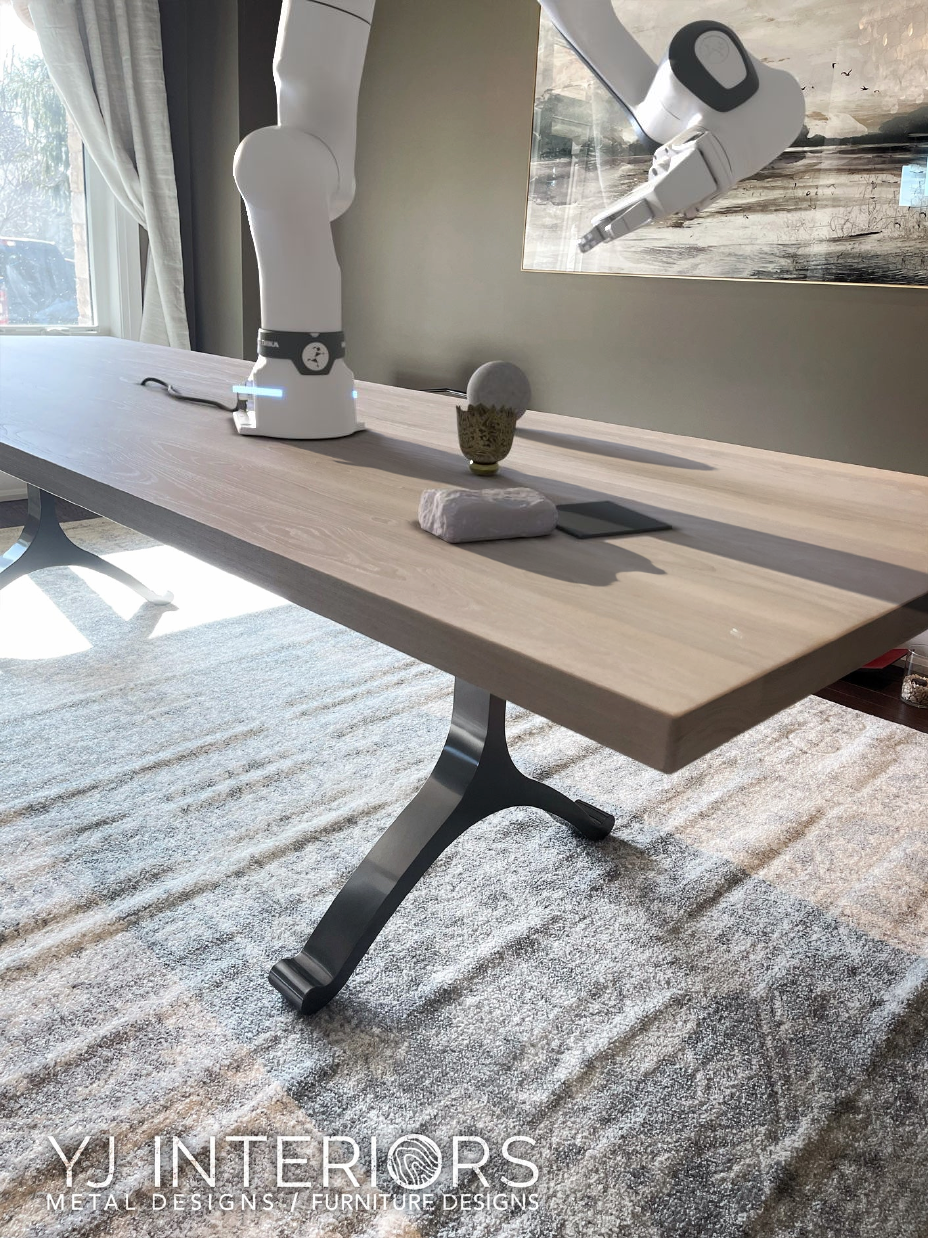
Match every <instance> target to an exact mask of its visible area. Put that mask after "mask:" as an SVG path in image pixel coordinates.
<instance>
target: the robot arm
mask: <svg viewBox="0 0 928 1238" xmlns="http://www.w3.org/2000/svg"><path fill="white" fill-rule="evenodd" d="M376 1H377V0H282V5H281V11H280V19H279V24H278V32H277V37H276V43H275V44H276V45H275V51H274V56H273V57H274V58H273V63H272V72H273V77H274V82H275V87H276V98H277V99H276V100H277V124H275V125H269V126H265V127H261V128H258V129H256V130H253V131H251V132H250V133H249V134H247V135H246V136H245V137H244V138H243V139H242V140H241V142H240V143H239V145H238V147H237V149H236V152H235V155H234V158H233V176H234V177H233V178H234V180H235V183H236V186H237V189H238V191H239V192H240V194H241V196H242V198H243V200H244V203H245V207H246V211H247V216H248V221H249V222H248V223H249V225H250V231H251V236H252V239H253V244H254V249H255V253H256V259H257V265H258V266H257V267H258V275H259V292H260V293H259V294H260V295H259V296H260V319H261V328H259V329H258V336H257V351H256V352H257V354H258V359H257V361H256V363H255V365H254V367H253V369H252V371H251V373H250V375H249V377H248V379H245V380H244V383H238V384H237V385H232V392H233V393H236V399H237V401H236V405H235V406H234V407H228V406H227V405H224V404H223V403H221V402H218V401H216V400H213V399H207V398H200V397H193V396H187V395H183V394H180V393H177V392H175V391H174V390H173V389H174V387H173V385H172V384H170V383H168V382H166V381H164V380H161V379H159V378H156V377H153V376H148V377H145V378H143V380H142V381H141V382H140V386H145V385H146V384H147V382H153V383H157V384H159V385H161V386H163V387H165V388H167V391H168V393H169V394H170V395H171V396H172V397H174V398H176V399H179V400H182V401H187V402H192V403H193V402H194V403H198V404H206V405H211V406H215V407H217V408H219V409H222V410H224V411H228V412H233V418H232V419H233V421H234V424H235V427H236V430H237V432H238V434H240V435H248V436H249V435H250V436H263V437H264V436H265V437H271V438H281V439H297V440H299V439H303V440H304V439H307V440H309V439H311V440H312V439H314V440H315V439H331V438H339V437H344V436H349V435H351V434H353V433H355V432H358V431H364V430H366V423H365V421H364V420H358V419H357V417H358V416H357V404H356V403H357V401H356V399H357V398H358V391H356V385H355V375H354V372H353V371H352V370H351V369H350V368H349V367H348V366H347V365H346V363H345V361H344V359H343V358H345V356H346V345H347V344H346V343H347V342H346V339H345V332H344V331H343V329H342V324H343V323H342V271H341V266H340V264H339V263H338V259H337V258H338V257H337V255H336V250H335V245H334V239H333V233H332V227H331V222H332V221H334V220H336V219H338V218H339V217H340V216H341V215H343V214H344V213H345V212H346V211H347V210H348V209H349V208H350V207H351V205H352V203H353V201H354V199H355V194H356V189H357V183H356V182H357V181H356V175H355V174H356V173H355V161H356V151H357V150H356V149H357V124H358V106H359V105H358V103H359V95H360V94H359V93H360V87H361V81H362V76H363V70H364V65H365V59H366V55H367V49H368V45H369V39H370V33H371V26H372V21H373V17H374V11H375V5H376ZM536 1H537V2H538V3H539V5H540V6H541V7H542V9H543V11H544V12H545V13H546V15H547V16H548V18H549V20H550V21H551V23H552V24H553V26H554V28H555V29H556V31H557V32H558V33H559V35H560V36H561V38H562V39H563V41H564V42H565V43H566V44H567V46H568V47H569V48H570V49H571V51H572V52H573V53H574V54H575V55H576V56H577V57H578V59H579V60H580V61H581V62H582V63H583V64H584V66H585V67H586V68H587V69H588V71H590V73H591V74H592V75H593V76H594V77H595V78H596V80H597V81H599V83H600V84H601V85H602V86H603V88H605V90H606V91H607V92H608V93H609V95H611V96H612V98H613V99H614V101H616V102H617V104H618V105H619V106H620V108H622V110H623V111H624V113H625V114H626V116H627V118H628V120H629V122H630V125H631V126H632V129H633V131H634V133H635V136H636V137H637V139H638V141H639V142H640V144H641V145H642V146H643V148H644V149H645V150H647V151H648V153H651V154H652V155H653V159H652V166H651V167H650V169H649V170H648V176H647V177H648V178H647V179H648V181H646V182H644V183H642V184H641V185H639V186H637V187H635V188H634V189H632V190H631V191H630V192H628V193H626V194H624V195H623V196H622V197H620V198H619V199H618V200H616V201H615V202H613V203H611V204H610V205H608V206H607V207H606V208H605V209H603V210H601V211H599V212H598V213H597V214H596V215H595V216H594V217H593V218H591V224H592V227H591V228H590V229H589V230H588V231H587V232H586V233H585V234H584V235H582V236H581V237H579V238H578V239H576V242H575V244H576V247H577V248H578V250H579V252H580V253H581V254H585V253H588V252H590V251H591V250H593V249H594V248H595V247H597V246H599V244H601V243H603V244H610V242H613V241H615V240H617V239H620V238H622V237H625V236H626V235H628V234H631V233H633V232H636V231H637V230H640V229H643V228H644V227H647V226H649V225H652V224H653V223H656V222H658V221H660V220H662V219H665V218H666V217H669V216H679V215H681V216H683V217H686V218H694V217H696V216H698V215H699V214H701V213H702V212H703V211H705V210H706V209H708V208H709V207H710V206H712V205H713V204H715V203H716V202H717V201H719V200H721V199H722V198H723V197H724V196H726V195H728V193H730V191H732V189H734V187H735V186H736V185H737V184H738V182H740V181H742V180H743V179H747V178H750V177H752V176H754V175H755V174H757V173H758V172H759V171H761V170H763V169H764V168H765V167H766V166H768V165H769V164H770V163H772V162H773V161H774V160H775V159H777V158H778V157H779V156H780V155H781V154H783V153H784V152H785V151H786V150H787V149H788V148H789V147H791V145H792V144H793V143H794V142H795V141H796V139H797V138H798V137H799V135H800V133H801V131H802V129H803V127H804V123H805V121H806V111H807V110H806V100H805V95H804V92H803V89H802V86H801V85H800V83H799V82H798V80H797V78H796V77H795V76H794V75H793V74H791V73H790V72H788V71H786V70H784V69H779V68H775V67H771V66H770V65H767V64H766V63H764V62H762V61H761V60H759V59H758V58H757V57H756V56H755V55H754V54H752V53H751V52H750V51H749V50H748V49H746V47H745V46H744V44H743V42H742V40H741V39H740V37H739V36H738V35H737V34H736V32H735V30H733V29H732V28H730V27H729V26H728V25H726V24H724V23H722V22H719V21H716V20H710V19H701V20H695V21H692V22H689V23H687V24H685V25H684V26H683V27H681V28H680V29H679V30H678V31H676V33H675V34H674V36H673V37H672V39H671V40H670V43H669V45H668V46H667V48H666V50H665V52H664V54H663V56H662V58H661V60H660V61H659V64H657V63H656V62H655V61H654V60H653V58H651V56H650V55H649V54H648V53H647V51H645V49H644V48H643V47H642V46H641V45H640V44H639V42H638V41H637V40H636V38H635V37H633V35H632V34H631V33H630V31H629V30H628V29H627V28H626V27H625V26H624V25H623V24H622V22H621V20H620V19H619V18H618V16H617V14H616V11H615V9H614V6H613V4H612V3H613V2H612V0H536Z"/></svg>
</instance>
